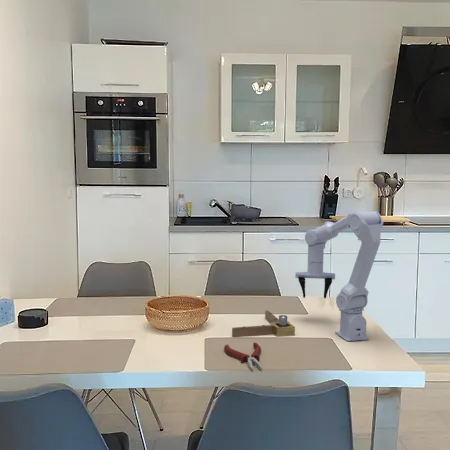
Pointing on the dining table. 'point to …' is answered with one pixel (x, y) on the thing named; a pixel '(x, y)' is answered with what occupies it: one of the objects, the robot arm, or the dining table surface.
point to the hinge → (265, 328)
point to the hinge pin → (282, 321)
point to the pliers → (244, 357)
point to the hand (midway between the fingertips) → (314, 297)
